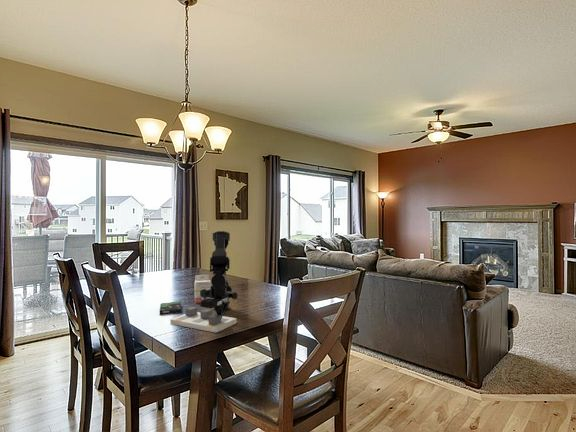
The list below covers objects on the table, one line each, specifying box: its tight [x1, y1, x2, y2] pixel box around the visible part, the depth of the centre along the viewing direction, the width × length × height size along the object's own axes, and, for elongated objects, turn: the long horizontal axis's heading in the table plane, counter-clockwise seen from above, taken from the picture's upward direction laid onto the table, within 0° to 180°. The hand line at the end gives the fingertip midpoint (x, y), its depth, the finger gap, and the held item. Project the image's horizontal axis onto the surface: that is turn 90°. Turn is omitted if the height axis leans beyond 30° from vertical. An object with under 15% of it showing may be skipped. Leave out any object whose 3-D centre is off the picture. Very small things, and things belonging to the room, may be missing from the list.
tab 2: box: [209, 314, 221, 325], centre depth 147 cm, size 4×4×3 cm
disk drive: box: [159, 301, 182, 316], centre depth 175 cm, size 10×3×15 cm
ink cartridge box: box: [194, 274, 212, 304], centre depth 191 cm, size 9×5×15 cm, turn 110°
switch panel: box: [169, 311, 238, 333], centre depth 154 cm, size 14×26×2 cm, turn 62°
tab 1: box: [185, 306, 198, 316], centre depth 159 cm, size 4×4×3 cm
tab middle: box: [200, 308, 213, 319], centre depth 155 cm, size 4×4×3 cm
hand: (220, 318), depth 150 cm, fingers closed
